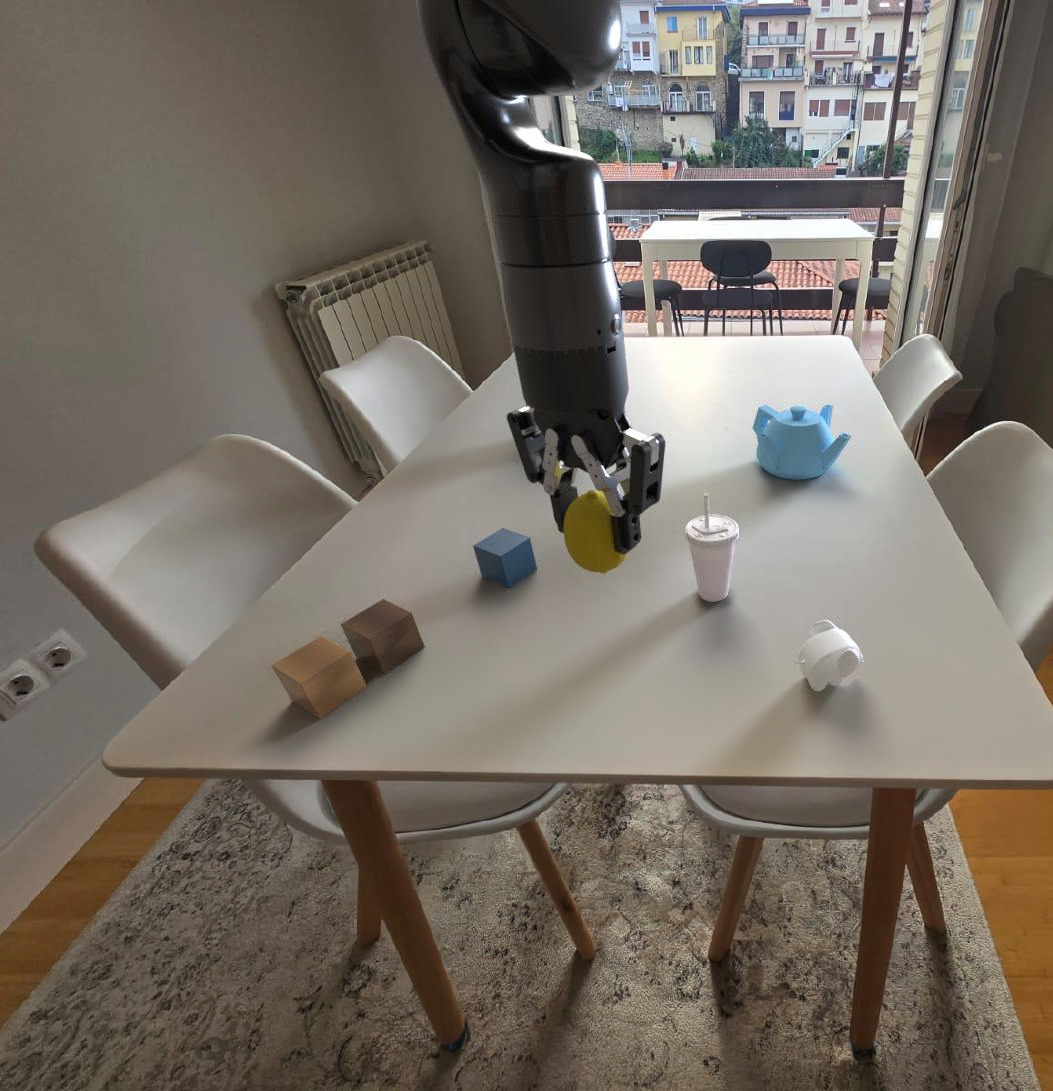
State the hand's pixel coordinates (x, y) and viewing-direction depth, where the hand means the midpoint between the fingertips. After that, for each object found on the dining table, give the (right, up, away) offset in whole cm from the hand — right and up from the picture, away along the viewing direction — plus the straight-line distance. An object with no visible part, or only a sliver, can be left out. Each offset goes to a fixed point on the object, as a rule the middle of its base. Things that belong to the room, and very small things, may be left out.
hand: (598, 538), depth 50 cm
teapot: (+23, +14, +56) cm, 62 cm away
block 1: (-30, -16, +12) cm, 36 cm away
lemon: (0, -3, +2) cm, 4 cm away
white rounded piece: (+21, -15, +13) cm, 29 cm away
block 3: (-18, -4, +29) cm, 35 cm away
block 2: (-27, -13, +17) cm, 34 cm away
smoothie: (+9, -7, +25) cm, 28 cm away
